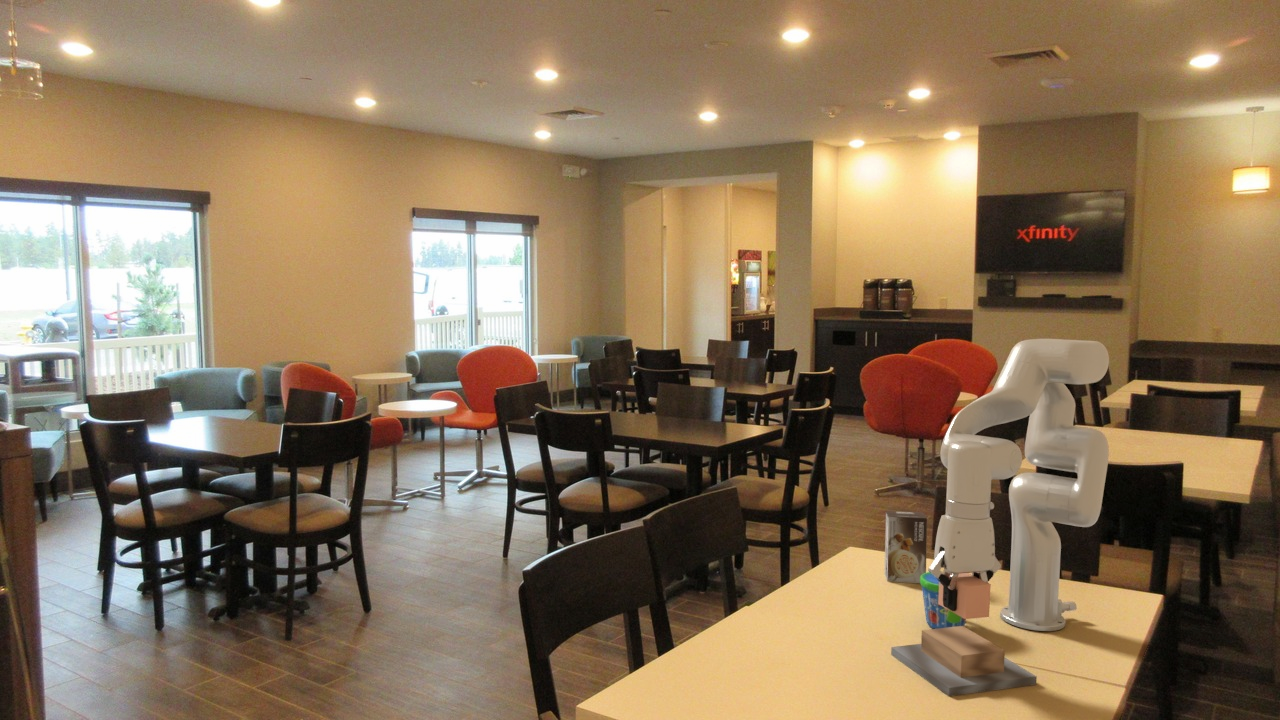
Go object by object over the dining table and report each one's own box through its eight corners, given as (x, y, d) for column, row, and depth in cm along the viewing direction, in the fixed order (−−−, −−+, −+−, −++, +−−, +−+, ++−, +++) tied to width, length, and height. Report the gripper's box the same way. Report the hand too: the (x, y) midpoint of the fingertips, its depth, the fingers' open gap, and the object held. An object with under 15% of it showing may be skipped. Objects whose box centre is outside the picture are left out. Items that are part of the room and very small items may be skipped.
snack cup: (916, 610, 193) (918, 565, 192) (967, 615, 190) (969, 569, 190) (920, 637, 178) (922, 588, 177) (976, 643, 175) (978, 593, 174)
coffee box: (922, 576, 217) (924, 511, 215) (926, 584, 210) (928, 518, 209) (883, 573, 218) (885, 509, 217) (886, 582, 212) (888, 516, 211)
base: (971, 645, 174) (972, 618, 174) (1036, 684, 157) (1037, 654, 157) (891, 654, 169) (892, 626, 169) (948, 696, 152) (950, 665, 152)
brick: (961, 601, 167) (962, 570, 166) (989, 616, 159) (990, 584, 158) (938, 604, 165) (939, 572, 165) (965, 619, 158) (966, 586, 157)
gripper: (993, 502, 167) (989, 597, 168) (914, 507, 162) (910, 604, 163) (1021, 512, 159) (1016, 610, 161) (939, 517, 155) (935, 618, 156)
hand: (963, 606), depth 162 cm, fingers closed on brick, 5 cm apart
